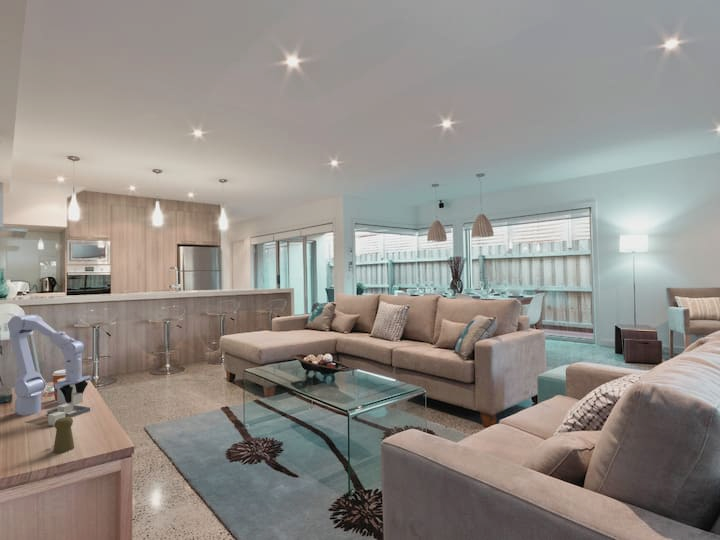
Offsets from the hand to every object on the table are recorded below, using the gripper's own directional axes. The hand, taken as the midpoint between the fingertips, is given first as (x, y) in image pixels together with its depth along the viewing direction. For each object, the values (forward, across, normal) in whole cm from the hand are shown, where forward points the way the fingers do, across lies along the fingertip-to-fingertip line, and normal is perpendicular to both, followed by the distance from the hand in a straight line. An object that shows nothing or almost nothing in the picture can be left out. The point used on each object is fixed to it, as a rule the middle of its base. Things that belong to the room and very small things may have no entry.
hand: (73, 400), depth 172 cm
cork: (+7, -23, -28) cm, 37 cm away
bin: (+7, 0, +3) cm, 8 cm away
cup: (+7, +11, +20) cm, 23 cm away
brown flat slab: (+7, -10, +1) cm, 12 cm away
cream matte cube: (+6, 0, +5) cm, 8 cm away
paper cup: (+7, +15, +30) cm, 34 cm away
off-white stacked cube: (+1, 0, 0) cm, 1 cm away
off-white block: (+6, -10, -5) cm, 13 cm away
